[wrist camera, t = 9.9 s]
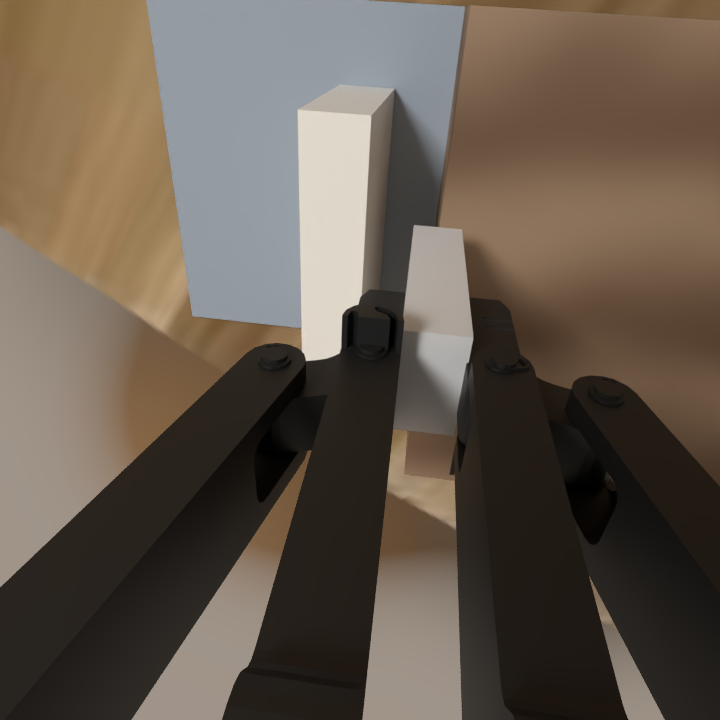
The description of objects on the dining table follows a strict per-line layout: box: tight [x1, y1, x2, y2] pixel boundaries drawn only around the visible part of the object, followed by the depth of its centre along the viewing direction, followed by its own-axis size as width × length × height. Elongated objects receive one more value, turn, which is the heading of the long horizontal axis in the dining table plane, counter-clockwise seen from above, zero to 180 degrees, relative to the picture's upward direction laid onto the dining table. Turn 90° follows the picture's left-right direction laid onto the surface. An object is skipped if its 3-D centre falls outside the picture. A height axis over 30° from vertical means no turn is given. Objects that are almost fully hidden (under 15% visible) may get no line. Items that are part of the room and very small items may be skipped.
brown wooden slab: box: [405, 5, 720, 486], centre depth 20 cm, size 18×14×4 cm
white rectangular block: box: [298, 85, 395, 361], centre depth 19 cm, size 9×6×2 cm
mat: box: [147, 0, 465, 328], centre depth 21 cm, size 13×11×1 cm
